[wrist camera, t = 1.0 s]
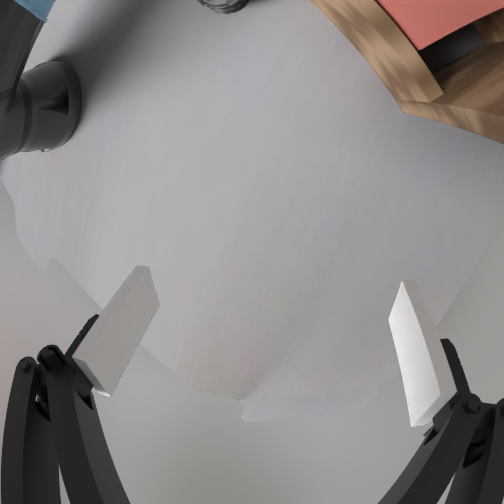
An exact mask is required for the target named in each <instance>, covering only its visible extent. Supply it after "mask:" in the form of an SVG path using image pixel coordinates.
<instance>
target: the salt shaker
mask: <svg viewBox="0 0 504 504" xmlns="http://www.w3.org/2000/svg"><path fill="white" fill-rule="evenodd" d="M198 2H199V3H201V4H202V5H204V6H206V7H209V8H211V9H212V10H213V11H215V12H217V13H222V14H230V13H234V12H237V11H239V10H241V9H242V8H244V7H245V6H246V5H247V3H248V2H249V0H198Z"/></svg>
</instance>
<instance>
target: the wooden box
mask: <svg viewBox="0 0 504 504" xmlns="http://www.w3.org/2000/svg"><path fill="white" fill-rule="evenodd" d="M310 1H311V2H312V3H313V4H314V5H316V6H317V7H318V8H319V9H320V10H321V11H322V12H323V13H324V14H325V15H326V16H327V17H328V18H329V19H330V20H331V21H332V22H333V23H334V24H335V25H336V26H337V27H338V28H339V29H340V31H341V32H342V33H343V34H344V35H345V36H346V37H347V38H348V39H349V40H350V42H351V43H352V44H353V45H354V46H355V47H356V48H357V50H358V51H359V52H360V53H361V54H362V56H363V57H364V58H365V59H366V60H367V62H368V63H369V64H370V65H371V67H372V68H373V69H374V71H375V72H376V73H377V75H378V76H379V77H380V79H381V80H382V81H383V83H384V84H385V85H386V87H387V88H388V90H389V91H390V92H391V94H392V95H393V97H394V98H395V100H396V101H397V103H398V104H399V106H400V107H401V109H402V110H403V112H404V113H407V114H411V115H416V116H420V117H424V118H428V119H431V120H435V121H438V122H442V123H445V124H449V125H452V126H455V127H458V128H461V129H464V130H467V131H470V132H473V133H476V134H479V135H482V136H484V137H487V138H490V139H492V140H495V141H497V142H500V143H502V144H504V7H503V8H501V9H499V10H496V11H494V12H492V13H490V14H488V15H486V16H483V17H481V18H479V19H477V20H475V21H473V22H472V24H473V25H474V27H475V28H476V30H477V31H478V33H479V35H480V36H481V38H482V39H483V41H484V43H485V44H483V45H481V46H480V47H478V48H476V49H474V50H473V51H471V52H469V53H467V54H466V55H464V56H462V57H461V58H459V59H457V60H456V61H454V62H452V63H451V64H449V65H447V66H446V67H444V68H442V69H441V70H439V71H438V72H436V73H434V74H433V75H432V74H431V72H430V70H429V69H428V67H427V66H426V64H425V63H424V61H423V60H422V59H421V57H420V56H419V54H418V53H417V52H416V50H415V49H414V47H413V46H412V45H411V43H410V42H409V41H408V39H407V38H406V37H405V36H404V34H403V33H402V32H401V31H400V29H399V28H398V27H397V26H396V24H395V23H394V22H393V21H392V20H391V18H390V17H389V16H388V15H387V14H386V13H385V12H384V11H383V9H382V8H381V7H380V6H379V5H378V4H377V3H376V2H375V1H374V0H310Z"/></svg>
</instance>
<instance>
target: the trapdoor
mask: <svg viewBox="0 0 504 504" xmlns="http://www.w3.org/2000/svg"><path fill="white" fill-rule="evenodd" d="M375 2H376V3H377V4H378V5H379V6H380V7H381V8H382V9H383V10H384V11H385V12H386V14H387V15H388V16H389V17H390V18H391V19H392V20H393V22H394V23H395V24H396V25H397V26H398V28H399V29H400V30H401V31H402V33H403V34H404V35H405V36H406V38H407V39H408V40H409V42H410V43H411V44H412V46H413V47H414V48H415V50H416V51H418V50H421V49H423V48H425V47H426V46H428V45H430V44H432V43H433V42H435V41H437V40H439V39H441V38H442V37H444V36H446V35H448V34H450V33H452V32H454V31H455V30H457V29H459V28H461V27H463V26H465V25H467V24H469V23H471V22H473V21H475V20H477V19H479V18H481V17H483V16H486V15H488V14H490V13H492V12H494V11H496V10H499V9H501V8H503V7H504V0H375Z"/></svg>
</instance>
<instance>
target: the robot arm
mask: <svg viewBox="0 0 504 504" xmlns="http://www.w3.org/2000/svg"><path fill="white" fill-rule="evenodd" d="M55 1H56V0H0V161H1V160H3V159H5V158H7V157H9V156H11V155H13V154H16V153H18V152H31V151H36V152H47V151H50V150H53V149H55V148H58V147H60V146H61V145H63V144H64V143H65V142H66V141H67V140H68V139H69V138H70V136H71V135H72V133H73V131H74V129H75V127H76V125H77V122H78V118H79V114H80V108H81V90H80V84H79V81H78V78H77V76H76V73H75V72H74V70H73V69H72V68H71V67H70V66H69V65H68V64H66V63H64V62H61V61H51V62H44V63H41V64H39V65H37V66H35V67H34V68H33V69H31V70H29V71H26V72H24V73H23V70H24V67H25V65H26V62H27V59H28V57H29V55H30V52H31V50H32V48H33V45H34V43H35V41H36V39H37V37H38V35H39V33H40V31H41V29H42V27H43V25H44V23H46V21H47V17H48V14H49V12H50V10H51V8H52V6H53V4H54V2H55ZM159 306H160V303H159V300H158V297H157V293H156V290H155V287H154V283H153V280H152V276H151V272H150V269H149V266H138V265H137V266H136V267H135V269H134V270H133V271H132V273H131V274H130V275H129V276H128V278H127V279H126V280H125V282H124V283H123V284H122V286H121V287H120V288H119V290H118V291H117V292H116V294H115V295H114V296H113V298H112V299H111V301H110V302H109V303H108V305H107V306H106V307H105V309H104V310H103V312H102V313H101V314H100V315H97V314H96V315H94V316H93V317H92V318H90V319H89V320H88V321H87V323H86V324H85V325H84V327H83V329H82V330H81V331H80V333H79V335H77V337H76V338H75V340H74V341H73V343H72V344H71V346H70V347H69V349H68V350H67V352H66V353H65V355H64V354H63V353H62V351H61V350H60V349H59V347H58V346H56V345H48V346H46V347H44V348H43V349H42V350H41V351H40V352H39V354H38V356H37V361H38V362H39V363H40V364H38V363H37V362H36V361H35V360H34V358H32V357H24V358H23V359H21V360H20V361H19V363H18V365H17V367H16V370H15V374H14V378H13V383H12V387H11V393H10V397H9V402H8V408H7V414H6V420H5V428H4V436H3V446H2V460H1V501H2V504H61V499H60V487H59V486H60V485H59V466H60V470H61V474H62V478H63V481H64V485H65V488H66V491H67V495H68V498H69V501H70V504H130V502H129V500H128V498H127V495H126V493H125V491H124V488H123V486H122V484H121V481H120V479H119V476H118V474H117V471H116V469H115V466H114V463H113V460H112V458H111V455H110V452H109V449H108V446H107V443H106V440H105V437H104V433H103V430H102V427H101V423H100V420H99V416H98V412H97V409H96V405H95V401H94V396H93V394H92V392H91V389H92V388H93V386H94V388H95V389H96V390H97V391H98V393H101V394H103V395H106V396H109V397H112V395H113V393H114V391H115V389H116V387H117V385H118V383H119V381H120V378H121V377H122V375H123V373H124V371H125V369H126V367H127V365H128V363H129V361H130V359H131V357H132V355H133V353H134V352H135V349H136V348H137V346H138V344H139V342H140V340H141V338H142V337H143V335H144V333H145V331H146V329H147V327H148V326H149V324H150V322H151V320H152V318H153V316H154V315H155V313H156V311H157V309H158V307H159ZM388 320H389V324H390V327H391V331H392V335H393V339H394V343H395V347H396V351H397V355H398V359H399V364H400V368H401V372H402V378H403V383H404V387H405V393H406V398H407V404H408V410H409V415H410V422H411V427H414V426H420V425H426V424H427V423H428V422H429V421H430V420H431V419H433V424H434V425H433V426H432V427H431V428H430V429H429V430H428V431H427V432H426V433H425V434H424V436H426V435H427V436H426V437H425V439H424V441H423V442H422V444H421V446H420V447H419V449H418V450H417V452H416V453H415V455H414V456H413V458H412V459H411V461H410V462H409V464H408V465H407V467H406V468H405V470H404V471H403V472H402V474H401V475H400V476H399V478H398V479H397V480H396V482H395V483H394V485H393V486H392V487H391V488H390V490H389V491H388V492H387V493H386V495H385V496H384V497H383V498H382V499H381V501H380V502H379V503H378V504H437V502H438V501H439V499H440V497H441V496H442V494H443V493H444V491H445V489H446V488H447V486H448V484H449V483H450V480H451V478H452V477H453V475H454V474H455V476H454V479H453V482H452V485H451V488H450V491H449V494H448V496H447V499H446V502H445V504H502V501H503V497H504V398H503V399H501V400H500V401H499V402H498V403H497V404H489V403H483V402H481V400H480V399H479V397H478V396H476V395H475V394H472V393H471V392H470V389H469V386H468V383H467V380H466V377H465V374H464V371H463V368H462V365H461V362H460V360H459V358H458V355H457V352H456V349H455V347H454V345H453V344H452V343H451V342H450V341H449V339H440V338H439V336H438V333H437V331H436V328H435V326H434V323H433V321H432V318H431V316H430V313H429V311H428V309H427V306H426V304H425V302H424V299H423V297H422V295H421V293H420V290H419V288H418V286H417V284H416V282H415V281H414V280H402V282H401V285H400V288H399V291H398V294H397V297H396V300H395V303H394V306H393V308H392V311H391V314H390V317H389V319H388ZM36 396H37V401H35V400H36Z"/></svg>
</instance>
